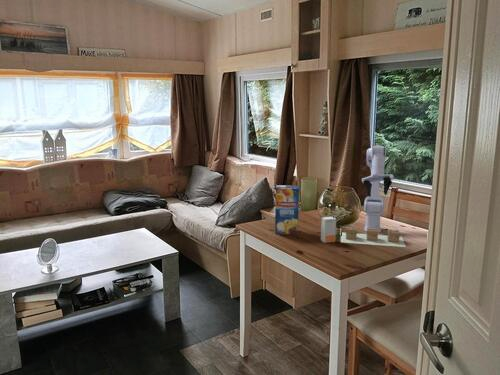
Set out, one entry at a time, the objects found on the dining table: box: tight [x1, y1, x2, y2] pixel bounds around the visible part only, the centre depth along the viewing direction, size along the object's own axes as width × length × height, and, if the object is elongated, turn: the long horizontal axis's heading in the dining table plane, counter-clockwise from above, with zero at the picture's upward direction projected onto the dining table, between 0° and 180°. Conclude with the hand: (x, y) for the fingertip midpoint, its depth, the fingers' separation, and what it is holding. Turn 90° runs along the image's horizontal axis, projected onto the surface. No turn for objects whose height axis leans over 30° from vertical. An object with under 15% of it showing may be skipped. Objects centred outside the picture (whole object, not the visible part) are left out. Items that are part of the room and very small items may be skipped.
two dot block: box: [345, 226, 358, 240], centre depth 216 cm, size 5×5×5 cm
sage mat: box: [340, 232, 406, 248], centre depth 214 cm, size 16×30×1 cm, turn 77°
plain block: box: [366, 228, 379, 241], centre depth 214 cm, size 5×5×5 cm
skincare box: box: [320, 216, 337, 244], centre depth 211 cm, size 6×4×12 cm
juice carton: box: [274, 184, 300, 235], centre depth 225 cm, size 12×8×24 cm, turn 84°
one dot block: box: [387, 228, 401, 243], centre depth 212 cm, size 5×5×5 cm
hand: (377, 195), depth 200 cm, fingers open, 7 cm apart
